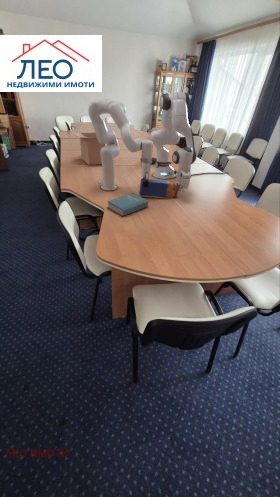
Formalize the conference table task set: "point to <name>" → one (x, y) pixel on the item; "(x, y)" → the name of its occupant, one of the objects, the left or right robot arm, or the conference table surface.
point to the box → (90, 147)
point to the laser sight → (153, 160)
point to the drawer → (173, 190)
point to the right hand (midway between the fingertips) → (180, 190)
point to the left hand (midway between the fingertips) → (145, 184)
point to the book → (127, 204)
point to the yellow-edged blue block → (153, 188)
